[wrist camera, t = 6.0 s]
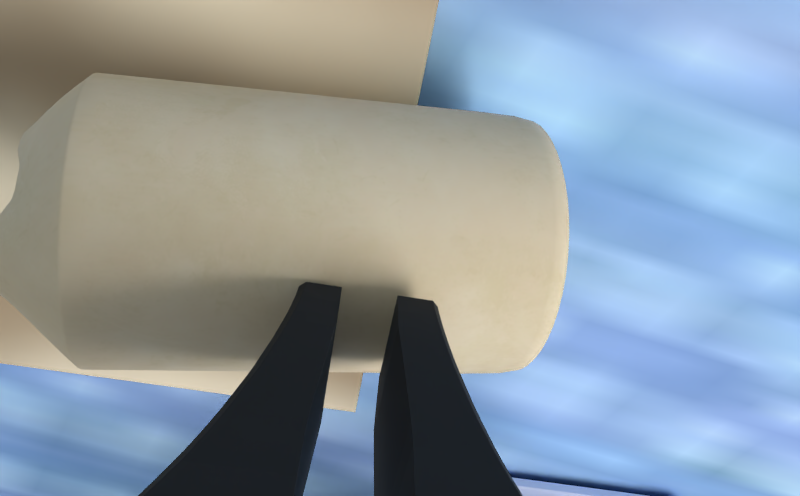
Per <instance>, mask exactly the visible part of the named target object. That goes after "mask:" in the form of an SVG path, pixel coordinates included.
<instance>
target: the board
mask: <svg viewBox="0 0 800 496" xmlns="http://www.w3.org/2000/svg"><path fill="white" fill-rule="evenodd" d="M438 2H439V0H0V214H1V213H2V211H3V210H4V209H5V207H6V206H7V205H8V203H9V202H10V201H11V199H12V197H13V194H14V191H15V186H16V181H17V176H18V171H19V158H18V151H17V149H18V146H19V142H20V139H21V138H22V136H23V134H24V132H26V131H27V130H28V129H29V128H30V127H31V126H32V125H33V124H35V123H36V122H37V121H38V120H39V119H40V118H41V117H42V116H43V115H44V114H45V113H46V112H47V111H48V110H49V109H50V108H51V107H52V106H53V105H54V104H55V103H56V102H57V101H58V100H59V99H61V98H62V97H63V96H64V95H65V94H67V93H68V92H69V91H70V90H72V89H73V88H74V87H75V86H77V85H78V84H79V83H81V82H82V81H84V80H85V79H86V78H88V77H89V76H90V75H92V74H94V73H105V74H115V75H125V76H135V77H145V78H155V79H165V80H174V81H184V82H194V83H204V84H213V85H223V86H233V87H243V88H252V89H262V90H272V91H282V92H291V93H301V94H311V95H321V96H331V97H340V98H350V99H360V100H370V101H379V102H389V103H399V104H409V105H418V100H419V95H420V90H421V85H422V80H423V76H424V71H425V66H426V61H427V56H428V51H429V46H430V41H431V36H432V31H433V26H434V21H435V16H436V11H437V7H438ZM0 363H3V364H10V365H17V366H25V367H32V368H39V369H46V370H54V371H61V372H68V373H75V374H83V375H90V376H97V377H104V378H112V379H119V380H126V381H133V382H140V383H148V384H155V385H162V386H169V387H177V388H184V389H191V390H198V391H206V392H213V393H220V394H227V395H232V394H233V393H234V391H235V390H236V389H237V388H238V386H239V385H240V384H241V382H242V381H243V380H244V379H245V377H246V376H247V375H248V373H249V372H250V371H162V370H81V369H79V368H77V367H76V366H75V365H74V364H73V363H72V362H71V361H70V360H68V359H67V358H66V357H65V356H64V355H63V354H62V353H61V352H60V351H59V350H58V349H57V348H56V347H55V346H54V345H53V344H52V343H51V342H50V341H49V340H48V339H47V338H46V337H45V336H44V335H43V334H42V333H41V332H40V331H39V330H38V329H37V328H36V327H35V326H34V325H33V324H32V323H31V322H30V321H29V320H28V319H27V318H26V317H25V316H23V315H22V314H21V313H20V312H19V311H18V310H17V309H16V308H15V307H14V306H13V305H12V304H11V303H9V302H8V301H7V300H6V299H5V298H3V297H2V296H1V295H0ZM362 376H363V372H329V375H328V381H327V388H326V394H325V400H324V406H323V408H329V409H336V410H343V411H350V412H355V410H356V406H357V401H358V396H359V391H360V386H361V381H362Z"/></svg>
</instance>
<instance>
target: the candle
mask: <svg viewBox="0 0 800 496" xmlns="http://www.w3.org/2000/svg"><path fill="white" fill-rule="evenodd" d="M17 151H18V158H19V171H18V176H17V181H16V186H15V191H14V194H13V197H12V199H11V201H10V202H9V203H8V205H7V206H6V207H5V209H4V210H3V211H2V213H1V214H0V295H1V296H2V297H3V298H5V299H6V300H7V301H8V302H9V303H11V304H12V305H13V306H14V307H15V308H16V309H17V310H18V311H19V312H20V313H21V314H22V315H23V316H25V317H26V318H27V319H28V320H29V321H30V322H31V323H32V324H33V325H34V326H35V327H36V328H37V329H38V330H39V331H40V332H41V333H42V334H43V335H44V336H45V337H46V338H47V339H48V340H49V341H50V342H51V343H52V344H53V345H54V346H55V347H56V348H57V349H58V350H59V351H60V352H61V353H62V354H63V355H64V356H65V357H66V358H67V359H68V360H70V361H71V362H72V363H73V364H74V365H75V366H76V367H77V368H79V369H81V370H162V371H250V370H251V369H252V368H253V366H254V365H255V363H256V362H257V360H258V359H259V357H260V356H261V354H262V353H263V351H264V350H265V348H266V347H267V345H268V344H269V342H270V341H271V339H272V338H273V336H274V335H275V333H276V331H277V330H278V328H279V326H280V325H281V323H282V321H283V319H284V318H285V316H286V314H287V312H288V310H289V308H290V306H291V304H292V302H293V300H294V298H295V295H296V293H297V290H298V287H299V286H300V285H301V284H303V283H305V282H311V283H318V284H325V285H331V286H338V287H342V291H341V298H340V305H339V312H338V319H337V325H336V331H335V338H334V344H333V350H332V356H331V363H330V369H329V372H363V373H380V371H381V367H382V362H383V358H384V354H385V349H386V345H387V340H388V336H389V331H390V327H391V322H392V318H393V314H394V309H395V305H396V300H397V296H398V295H399V296H405V297H412V298H419V299H426V300H432V301H434V303H435V304H436V305H437V306H438V310H439V314H440V318H441V321H442V325H443V328H444V331H445V334H446V337H447V340H448V343H449V346H450V349H451V351H452V354H453V357H454V359H455V362H456V365H457V367H458V370H459V372H460V373H503V372H509V371H515V370H519V369H522V368H524V367H526V366H527V365H528V364H530V363H531V362H532V361H533V360H534V359H535V358H536V356H537V355H538V354H539V352H540V351H541V350H542V348H543V346H544V344H545V343H546V341H547V339H548V337H549V334H550V332H551V330H552V328H553V325H554V322H555V319H556V316H557V313H558V310H559V306H560V302H561V298H562V294H563V288H564V283H565V277H566V269H567V261H568V247H569V212H568V199H567V192H566V185H565V179H564V175H563V170H562V166H561V163H560V160H559V157H558V154H557V151H556V149H555V147H554V144H553V142H552V141H551V139H550V137H549V136H548V134H547V133H546V132H545V130H544V129H543V128H542V127H541V126H540V125H538V124H537V123H535V122H533V121H529V120H526V119H522V118H519V117H515V116H509V115H501V114H493V113H485V112H477V111H467V110H458V109H448V108H438V107H428V106H418V105H409V104H399V103H389V102H379V101H370V100H360V99H350V98H340V97H331V96H321V95H311V94H301V93H291V92H282V91H272V90H262V89H252V88H243V87H233V86H223V85H213V84H204V83H194V82H184V81H174V80H165V79H155V78H145V77H135V76H125V75H115V74H105V73H94V74H92V75H90V76H89V77H88V78H86V79H85V80H84V81H82V82H81V83H79V84H78V85H77V86H75V87H74V88H73V89H72V90H70V91H69V92H68V93H67V94H65V95H64V96H63V97H62V98H61V99H59V100H58V101H57V102H56V103H55V104H54V105H53V106H52V107H51V108H50V109H49V110H48V111H47V112H46V113H45V114H44V115H43V116H42V117H41V118H40V119H39V120H38V121H37V122H36V123H35V124H33V125H32V126H31V127H30V128H29V129H28V130H27V131H26V132H24V134H23V136H22V138H21V139H20V142H19V146H18V149H17Z"/></svg>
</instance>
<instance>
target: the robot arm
mask: <svg viewBox="0 0 800 496" xmlns="http://www.w3.org/2000/svg"><path fill="white" fill-rule="evenodd" d="M341 291H342V287H338V286H331V285H325V284H318V283H311V282H305V283H303V284H301V285H300V286H299V287H298V290H297V293H296V295H295V298H294V300H293V302H292V304H291V306H290V308H289V310H288V312H287V314H286V316H285V318H284V319H283V321H282V323H281V325H280V326H279V328H278V330H277V331H276V333H275V335H274V336H273V338H272V339H271V341H270V342H269V344H268V345H267V347H266V348H265V350H264V351H263V353H262V354H261V356H260V357H259V359H258V360H257V362H256V363H255V365H254V366H253V368H252V369H251V370H250V372H249V373H248V375H247V376H246V377H245V379H244V380H243V381H242V382H241V384H240V385H239V386H238V388H237V389H236V390H235V391H234V393H233V394H232V395H231V397H230V398H229V399H228V400H227V402H226V403H225V404H224V406H223V407H222V408H221V409H220V411H219V412H218V413H217V414H216V415H215V416H214V418H213V419H212V420H211V421H210V422H209V423H208V425H207V426H206V427H205V428H204V429H203V430H202V431H201V433H200V434H199V435H198V436H197V437H196V438H195V439H194V440H193V441H192V442H191V443H190V445H189V446H188V447H187V448H186V449H185V450H184V451H183V452H182V453H181V454H180V455H179V456H178V457H177V458H176V459H175V460H174V461H173V462H172V463H171V464H170V465H169V466H168V467H167V468H166V469H165V470H164V471H163V472H162V473H161V474H160V475H159V476H158V477H157V478H156V479H155V480H154V481H153V482H152V483H151V484H150V485H149V486H148V487H147V488H146V489H145V490H144V491H143V492H142V493H141V494H139V495H138V496H303V492H304V488H305V484H306V480H307V476H308V472H309V468H310V464H311V460H312V456H313V452H314V448H315V444H316V440H317V436H318V432H319V428H320V424H321V419H322V412H323V406H324V400H325V394H326V388H327V381H328V375H329V369H330V363H331V356H332V350H333V344H334V338H335V331H336V325H337V319H338V312H339V305H340V298H341ZM374 496H648V495H640V494H633V493H625V492H618V491H610V490H603V489H595V488H588V487H580V486H573V485H565V484H558V483H551V482H543V481H536V480H528V479H521V478H513V477H511V475H510V474H509V472H508V470H507V469H506V467H505V465H504V463H503V462H502V460H501V458H500V456H499V454H498V452H497V451H496V449H495V447H494V445H493V443H492V441H491V439H490V437H489V435H488V433H487V431H486V429H485V427H484V425H483V423H482V421H481V419H480V417H479V415H478V413H477V411H476V409H475V407H474V404H473V402H472V400H471V398H470V395H469V393H468V391H467V388H466V386H465V384H464V382H463V379H462V377H461V375H460V372H459V370H458V367H457V365H456V362H455V359H454V357H453V354H452V351H451V349H450V346H449V343H448V340H447V337H446V334H445V331H444V328H443V325H442V321H441V318H440V314H439V310H438V306H437V305H436V304H435V303H434V301H432V300H426V299H419V298H412V297H405V296H399V295H398V296H397V300H396V305H395V309H394V314H393V318H392V322H391V327H390V331H389V336H388V340H387V345H386V349H385V354H384V358H383V362H382V367H381V371H380V376H379V385H378V394H377V404H376V414H375V424H374Z"/></svg>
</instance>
